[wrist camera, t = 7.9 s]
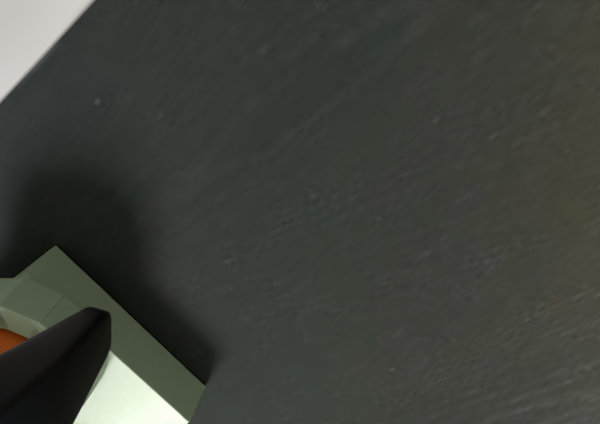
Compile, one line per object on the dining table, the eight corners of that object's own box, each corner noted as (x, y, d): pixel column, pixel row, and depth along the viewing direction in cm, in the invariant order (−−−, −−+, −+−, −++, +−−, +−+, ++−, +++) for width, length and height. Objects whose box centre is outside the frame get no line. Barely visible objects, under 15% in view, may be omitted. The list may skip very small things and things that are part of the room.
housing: (-61, 317, 29) (-126, 375, 26) (52, 225, 24) (-9, 280, 21) (89, 441, 32) (49, 507, 29) (216, 381, 27) (186, 452, 24)
